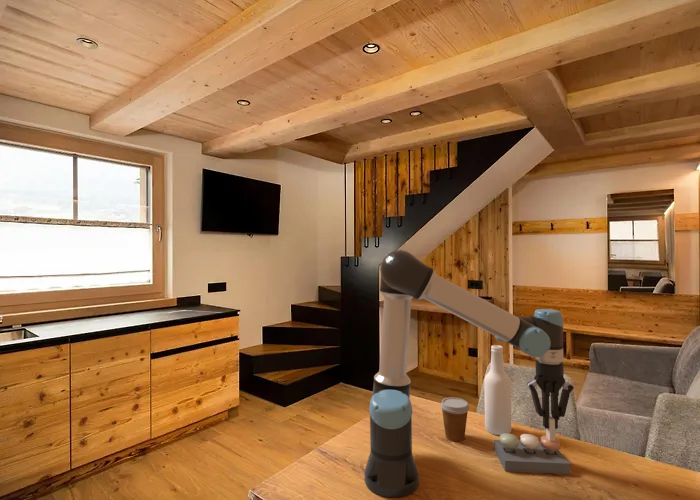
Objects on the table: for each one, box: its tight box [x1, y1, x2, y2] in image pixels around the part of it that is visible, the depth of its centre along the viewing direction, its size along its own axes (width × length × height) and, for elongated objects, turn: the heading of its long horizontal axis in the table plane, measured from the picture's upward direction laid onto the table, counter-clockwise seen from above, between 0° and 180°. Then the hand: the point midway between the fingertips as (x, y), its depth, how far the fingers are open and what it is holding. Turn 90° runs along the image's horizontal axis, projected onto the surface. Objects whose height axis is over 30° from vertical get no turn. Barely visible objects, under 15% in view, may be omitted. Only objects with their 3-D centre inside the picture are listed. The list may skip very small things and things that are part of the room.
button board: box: [493, 439, 571, 475], centre depth 115 cm, size 18×12×3 cm, turn 84°
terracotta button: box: [540, 434, 561, 455], centre depth 114 cm, size 5×5×5 cm
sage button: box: [499, 433, 519, 453], centre depth 115 cm, size 5×5×5 cm
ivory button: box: [519, 433, 540, 454], centre depth 115 cm, size 5×5×5 cm
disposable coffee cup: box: [439, 397, 470, 442], centre depth 129 cm, size 10×10×12 cm
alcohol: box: [483, 344, 512, 437], centre depth 134 cm, size 9×9×30 cm
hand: (550, 438), depth 114 cm, fingers closed
